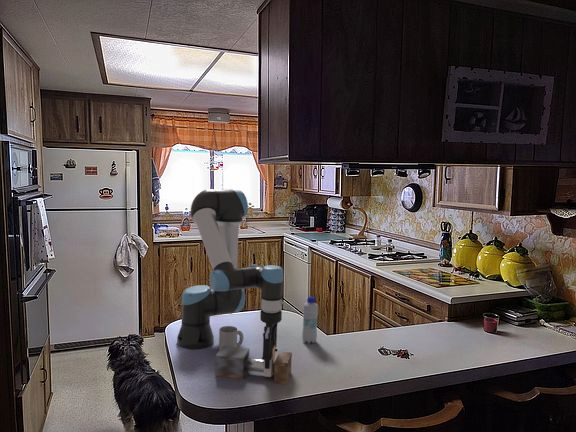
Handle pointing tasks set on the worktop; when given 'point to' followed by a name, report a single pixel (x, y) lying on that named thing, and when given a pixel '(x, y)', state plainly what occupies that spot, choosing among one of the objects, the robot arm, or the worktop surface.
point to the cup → (229, 337)
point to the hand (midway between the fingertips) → (269, 372)
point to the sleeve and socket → (233, 364)
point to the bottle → (310, 320)
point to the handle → (259, 363)
